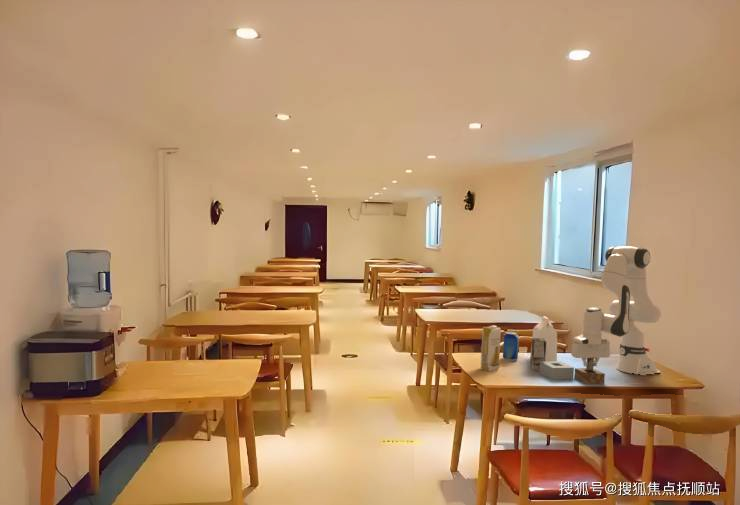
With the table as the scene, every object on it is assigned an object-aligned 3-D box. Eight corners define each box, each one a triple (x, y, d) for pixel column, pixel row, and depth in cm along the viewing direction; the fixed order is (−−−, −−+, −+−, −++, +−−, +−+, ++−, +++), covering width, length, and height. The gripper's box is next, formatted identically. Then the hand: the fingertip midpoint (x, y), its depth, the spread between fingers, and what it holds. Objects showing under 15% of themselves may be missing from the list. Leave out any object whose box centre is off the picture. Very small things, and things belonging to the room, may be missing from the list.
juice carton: (490, 372, 249) (492, 327, 248) (478, 368, 255) (480, 324, 254) (500, 369, 255) (503, 325, 254) (488, 365, 261) (491, 323, 260)
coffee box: (544, 371, 254) (546, 342, 254) (532, 370, 256) (534, 341, 255) (542, 366, 263) (543, 338, 263) (530, 365, 265) (531, 337, 264)
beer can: (519, 359, 277) (520, 332, 276) (515, 362, 270) (516, 335, 269) (504, 357, 281) (506, 330, 281) (500, 359, 274) (502, 332, 274)
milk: (530, 357, 282) (532, 315, 281) (549, 358, 281) (552, 316, 280) (536, 363, 270) (539, 318, 269) (556, 364, 269) (559, 319, 268)
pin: (589, 379, 243) (591, 355, 243) (594, 381, 239) (596, 357, 239) (583, 379, 242) (584, 355, 242) (588, 381, 239) (589, 357, 238)
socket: (559, 372, 254) (560, 361, 254) (573, 379, 243) (573, 367, 242) (539, 372, 252) (540, 361, 252) (552, 379, 240) (552, 368, 240)
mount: (591, 377, 247) (591, 367, 247) (604, 383, 237) (604, 373, 237) (574, 377, 245) (574, 368, 245) (586, 384, 235) (587, 374, 235)
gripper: (605, 337, 245) (603, 363, 246) (570, 338, 241) (568, 364, 242) (613, 340, 239) (612, 367, 240) (577, 340, 235) (576, 368, 236)
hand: (590, 366), depth 241 cm, fingers open, 4 cm apart
